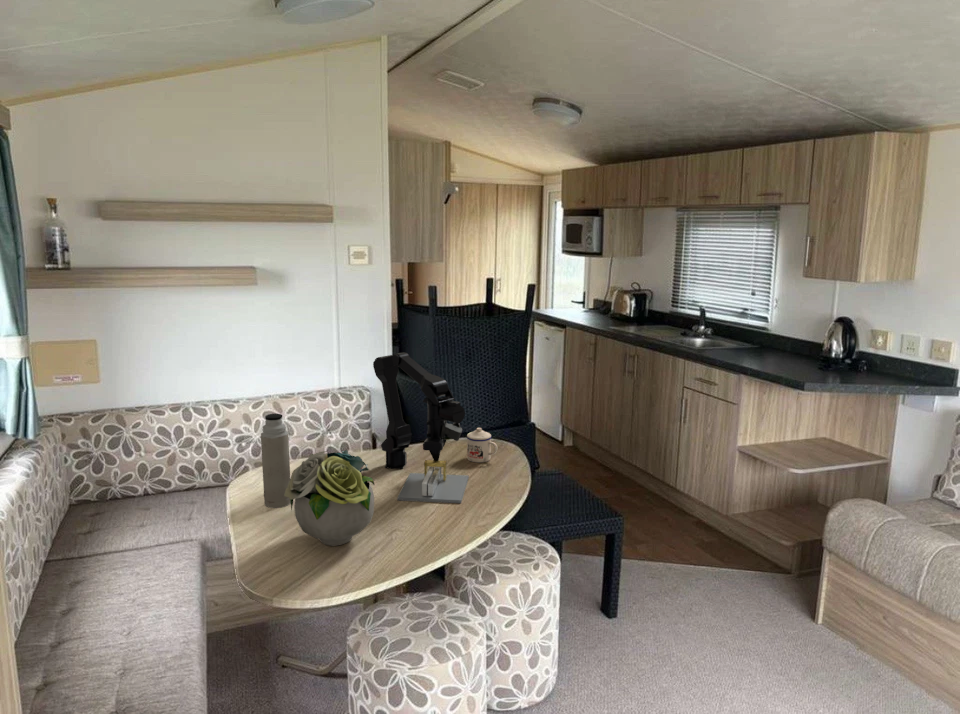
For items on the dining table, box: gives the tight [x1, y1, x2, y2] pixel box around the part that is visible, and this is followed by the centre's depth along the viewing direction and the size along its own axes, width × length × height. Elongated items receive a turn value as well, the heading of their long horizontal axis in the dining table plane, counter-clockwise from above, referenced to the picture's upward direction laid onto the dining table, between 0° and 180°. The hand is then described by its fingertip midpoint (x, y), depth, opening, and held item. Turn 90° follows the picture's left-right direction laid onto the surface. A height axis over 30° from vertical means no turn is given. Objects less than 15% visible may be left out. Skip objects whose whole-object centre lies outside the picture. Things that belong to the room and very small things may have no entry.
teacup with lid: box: [466, 427, 499, 463], centre depth 250 cm, size 12×9×12 cm
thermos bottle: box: [260, 413, 291, 509], centre depth 208 cm, size 8×8×28 cm
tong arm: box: [428, 467, 440, 496], centre depth 222 cm, size 2×16×4 cm, turn 174°
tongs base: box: [397, 466, 469, 504], centre depth 223 cm, size 20×21×5 cm
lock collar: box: [423, 459, 447, 481], centre depth 228 cm, size 7×2×6 cm, turn 85°
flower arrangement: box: [284, 449, 375, 547], centre depth 185 cm, size 25×25×24 cm
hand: (436, 462), depth 229 cm, fingers closed
